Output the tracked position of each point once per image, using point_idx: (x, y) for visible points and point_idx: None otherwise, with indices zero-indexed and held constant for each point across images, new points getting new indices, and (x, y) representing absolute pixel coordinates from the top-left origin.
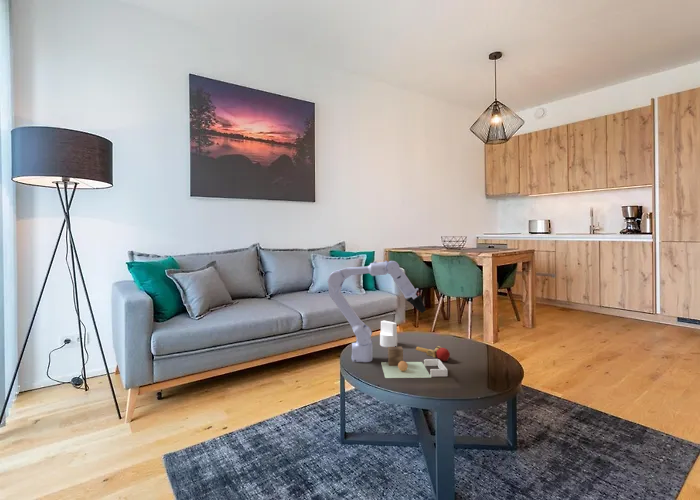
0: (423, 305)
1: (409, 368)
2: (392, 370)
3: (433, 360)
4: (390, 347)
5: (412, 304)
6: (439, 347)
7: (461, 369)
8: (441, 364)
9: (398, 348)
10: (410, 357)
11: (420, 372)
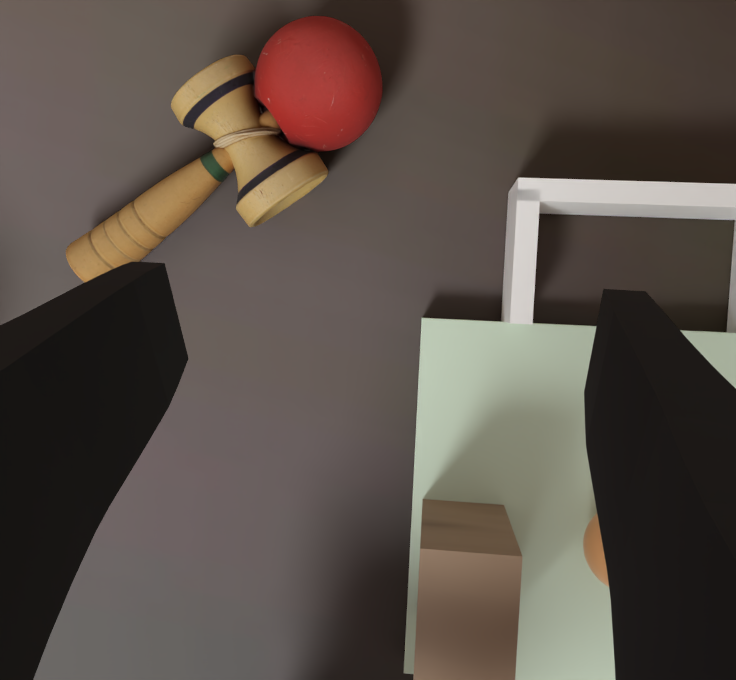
0: (718, 382)
1: (571, 466)
2: (602, 616)
3: (537, 239)
4: (444, 673)
5: (84, 555)
6: (225, 81)
7: (544, 8)
8: (661, 199)
9: (484, 596)
10: (228, 367)
11: None
